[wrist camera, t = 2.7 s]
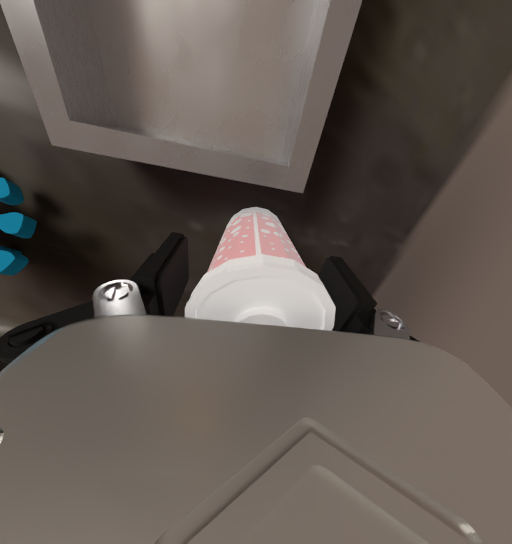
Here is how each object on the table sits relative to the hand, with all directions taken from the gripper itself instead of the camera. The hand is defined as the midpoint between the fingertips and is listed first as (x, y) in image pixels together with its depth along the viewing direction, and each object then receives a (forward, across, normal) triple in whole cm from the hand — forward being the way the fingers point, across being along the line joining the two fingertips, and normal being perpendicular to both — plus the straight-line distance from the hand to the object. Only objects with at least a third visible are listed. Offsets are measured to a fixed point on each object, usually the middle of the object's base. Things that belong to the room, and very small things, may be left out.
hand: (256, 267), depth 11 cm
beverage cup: (+5, 0, 0) cm, 5 cm away
